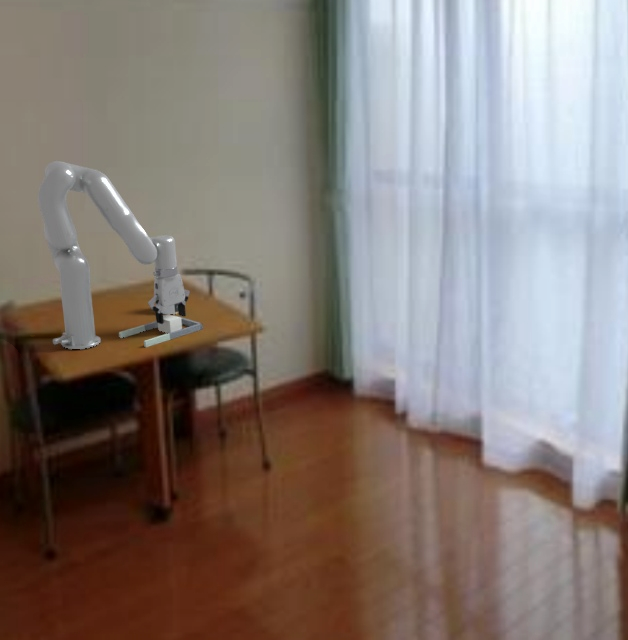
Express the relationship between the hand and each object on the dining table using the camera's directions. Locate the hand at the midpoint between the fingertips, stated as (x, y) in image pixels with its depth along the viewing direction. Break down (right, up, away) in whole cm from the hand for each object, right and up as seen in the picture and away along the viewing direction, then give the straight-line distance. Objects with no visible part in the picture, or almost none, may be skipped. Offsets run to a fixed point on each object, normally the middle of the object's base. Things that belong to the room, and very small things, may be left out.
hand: (171, 319), depth 294 cm
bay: (-3, -5, -1) cm, 5 cm away
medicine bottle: (-4, +3, +22) cm, 23 cm away
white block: (-1, -4, +1) cm, 4 cm away
